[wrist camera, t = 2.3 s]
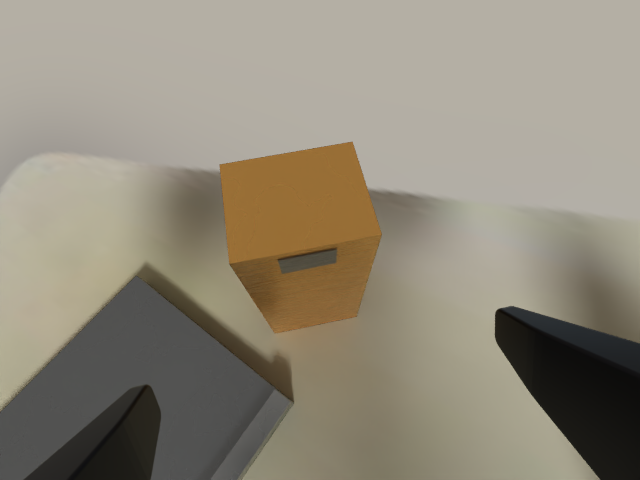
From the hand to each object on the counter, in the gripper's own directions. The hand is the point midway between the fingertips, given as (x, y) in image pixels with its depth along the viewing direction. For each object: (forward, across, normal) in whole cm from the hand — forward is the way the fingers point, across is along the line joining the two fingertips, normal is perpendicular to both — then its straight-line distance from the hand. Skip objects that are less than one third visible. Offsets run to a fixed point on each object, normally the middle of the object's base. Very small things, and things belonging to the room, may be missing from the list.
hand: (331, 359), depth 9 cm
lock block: (+12, 0, +4) cm, 13 cm away
